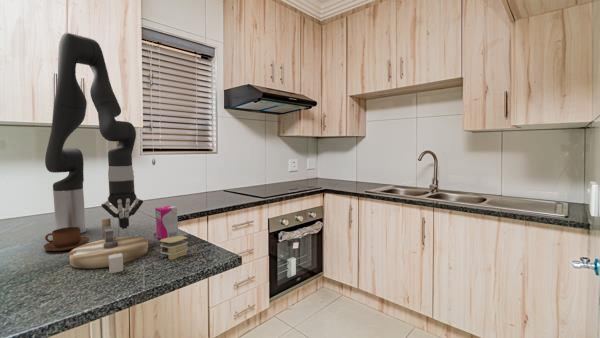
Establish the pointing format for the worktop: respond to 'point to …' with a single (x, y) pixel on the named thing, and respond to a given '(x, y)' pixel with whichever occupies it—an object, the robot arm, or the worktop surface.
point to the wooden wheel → (107, 249)
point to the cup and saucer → (65, 239)
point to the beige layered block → (174, 247)
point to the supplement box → (166, 222)
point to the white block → (115, 263)
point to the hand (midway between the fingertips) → (124, 228)
